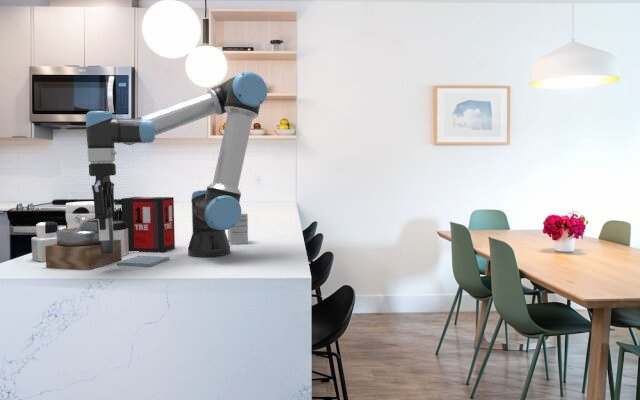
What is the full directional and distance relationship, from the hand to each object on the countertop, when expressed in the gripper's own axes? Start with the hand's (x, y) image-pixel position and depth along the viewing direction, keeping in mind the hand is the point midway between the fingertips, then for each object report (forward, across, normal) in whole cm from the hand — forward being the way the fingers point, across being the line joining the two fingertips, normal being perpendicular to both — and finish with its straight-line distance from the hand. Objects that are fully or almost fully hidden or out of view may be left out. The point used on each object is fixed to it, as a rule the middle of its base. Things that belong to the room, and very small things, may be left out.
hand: (106, 239), depth 153 cm
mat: (+10, +12, -8) cm, 17 cm away
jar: (+10, +27, +6) cm, 29 cm away
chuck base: (+10, +12, +11) cm, 19 cm away
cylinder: (+4, 0, 0) cm, 4 cm away
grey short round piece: (+2, +12, +11) cm, 16 cm away
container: (+10, +22, +27) cm, 36 cm away
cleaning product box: (+10, +36, -4) cm, 38 cm away
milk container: (+10, +43, +20) cm, 48 cm away
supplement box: (+11, +48, -37) cm, 62 cm away
